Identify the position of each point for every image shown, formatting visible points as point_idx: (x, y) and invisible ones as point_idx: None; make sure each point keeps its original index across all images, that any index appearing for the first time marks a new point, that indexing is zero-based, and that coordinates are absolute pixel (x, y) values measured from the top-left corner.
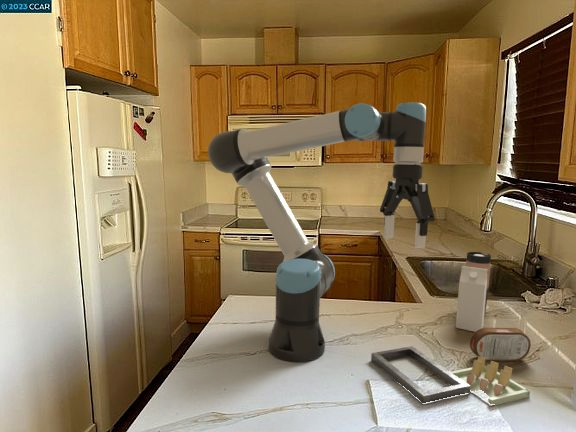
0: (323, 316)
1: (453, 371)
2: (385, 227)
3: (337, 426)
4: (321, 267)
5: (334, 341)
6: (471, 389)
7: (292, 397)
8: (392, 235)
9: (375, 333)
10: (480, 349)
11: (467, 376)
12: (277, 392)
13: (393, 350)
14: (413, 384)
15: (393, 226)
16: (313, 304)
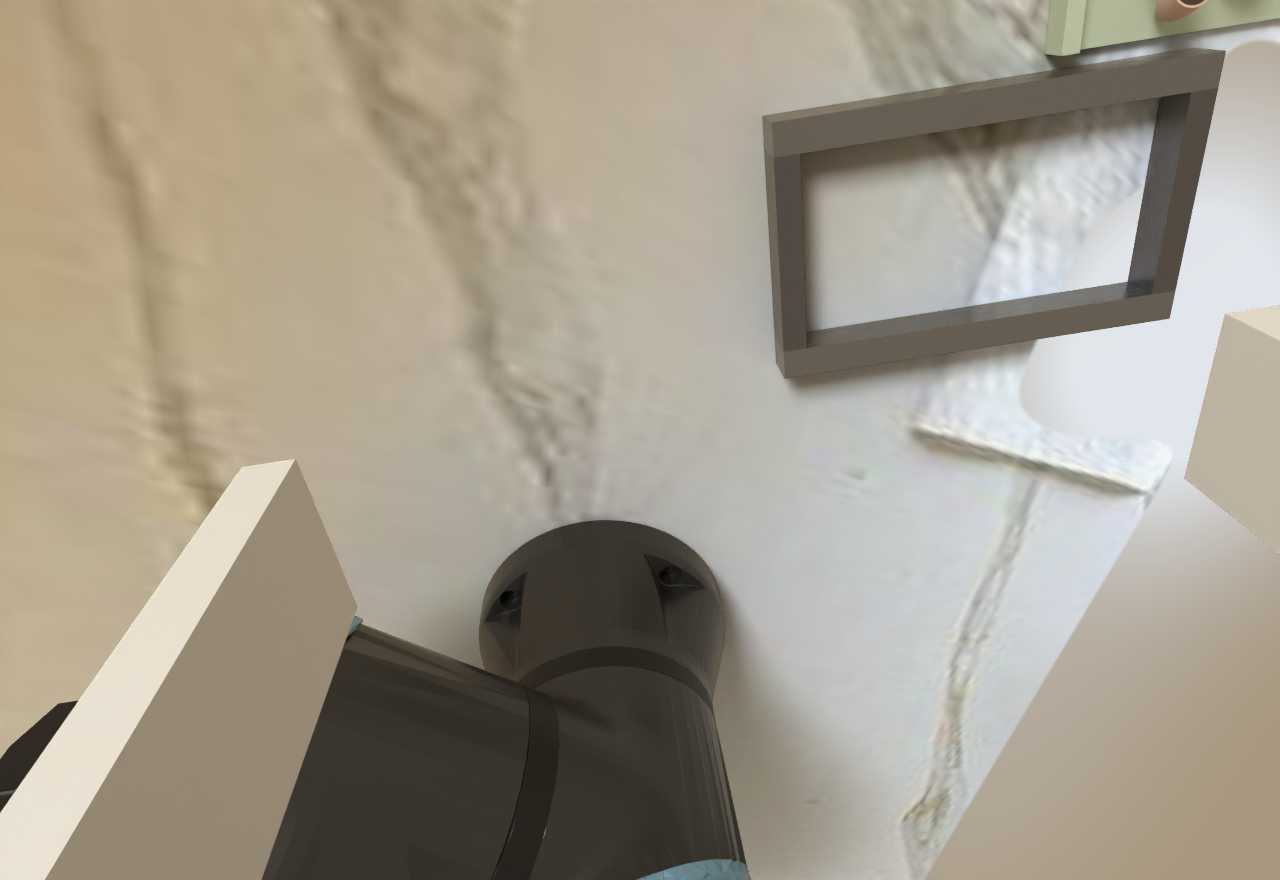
0: (204, 431)
1: (1066, 29)
2: (275, 795)
3: (1093, 590)
4: (459, 849)
5: (553, 460)
6: (1188, 19)
7: (918, 667)
8: (288, 518)
9: (474, 212)
10: None
11: (1177, 14)
12: (877, 698)
13: (791, 260)
14: (1086, 316)
15: (192, 650)
16: (717, 768)
